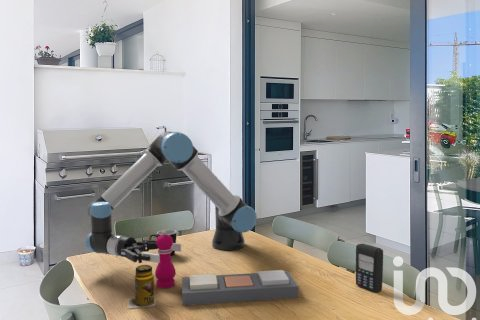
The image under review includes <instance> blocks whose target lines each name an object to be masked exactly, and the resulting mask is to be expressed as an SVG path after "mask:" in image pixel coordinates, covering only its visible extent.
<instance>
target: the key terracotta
mask: <svg viewBox="0 0 480 320" xmlns="http://www.w3.org/2000/svg"><path fill="white" fill-rule="evenodd" d="M224 282H225V287H226V288H233V287H249V286H254V285H253V282H252V280H251V277H250V275H247V276H229V277H224Z"/></svg>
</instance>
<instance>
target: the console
mask: <svg viewBox="0 0 480 320" xmlns="http://www.w3.org/2000/svg"><path fill="white" fill-rule="evenodd" d="M283 271H284V270H283ZM284 272H285V274H286V275H287V277H288V279H289V284H282V285H266V286H262V285H261V283H260V281H259V278H258V272H253V273H252V272H250V273H237V274H236V273H235V274H219V275H217V274H216V279H217V287H218V288H216V289H200V290H190V276H183V277H182V279H181V280H182V284H181V286H182V287H181V288H182V289H181V297H182V298H181V302H182V306H193V305H209V304H224V303H225V304H226V303H237V302H239V303H240V302H242V303H243V302H252V301H253V302H254V301H257V302H258V301H268V300H269V301H271V300H272V301H273V300H283V299H284V300H287V299H298V298H299V285H298V284H297V282H296V280H295V279H294V278H293V276H292V274H291V273H290V272H289V271H284ZM247 275H250V277H251V280H252V282H253V285H254V286H249V287H233V288H226V287H225V282H224V277H229V276H247Z"/></svg>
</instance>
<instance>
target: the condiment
mask: <svg viewBox="0 0 480 320" xmlns="http://www.w3.org/2000/svg"><path fill="white" fill-rule="evenodd" d="M154 278H155V277H154V274H153V266H152V265H149V264H141V265H137V266H136V267H135V275H134V297H133V298H128V309H139V308H148V307H156V305H157V303H156V296H155V280H154Z"/></svg>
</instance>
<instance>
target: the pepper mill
mask: <svg viewBox="0 0 480 320" xmlns="http://www.w3.org/2000/svg"><path fill="white" fill-rule="evenodd" d="M163 230H164V231H162V230H161V231H162V235H160V236H159V237H158V238H156V239H155V240H156V245H157V247H158V249H157V253H158V255H159V256H160V262H159V263H157V266H156V268H155V272H154V273H155V274H154V275H155V277H156V279H157V280H156V286H157V287H158V288H159V289H170V288H173V287H174V286H175V284H176V283H175V276H176V268H175V266H174V264H173V261H172V256H171V252H172V248H171V246H172V245H173V239H172V237H171V236H170V235H167V232H166V231H165V230H166V229H163Z"/></svg>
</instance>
